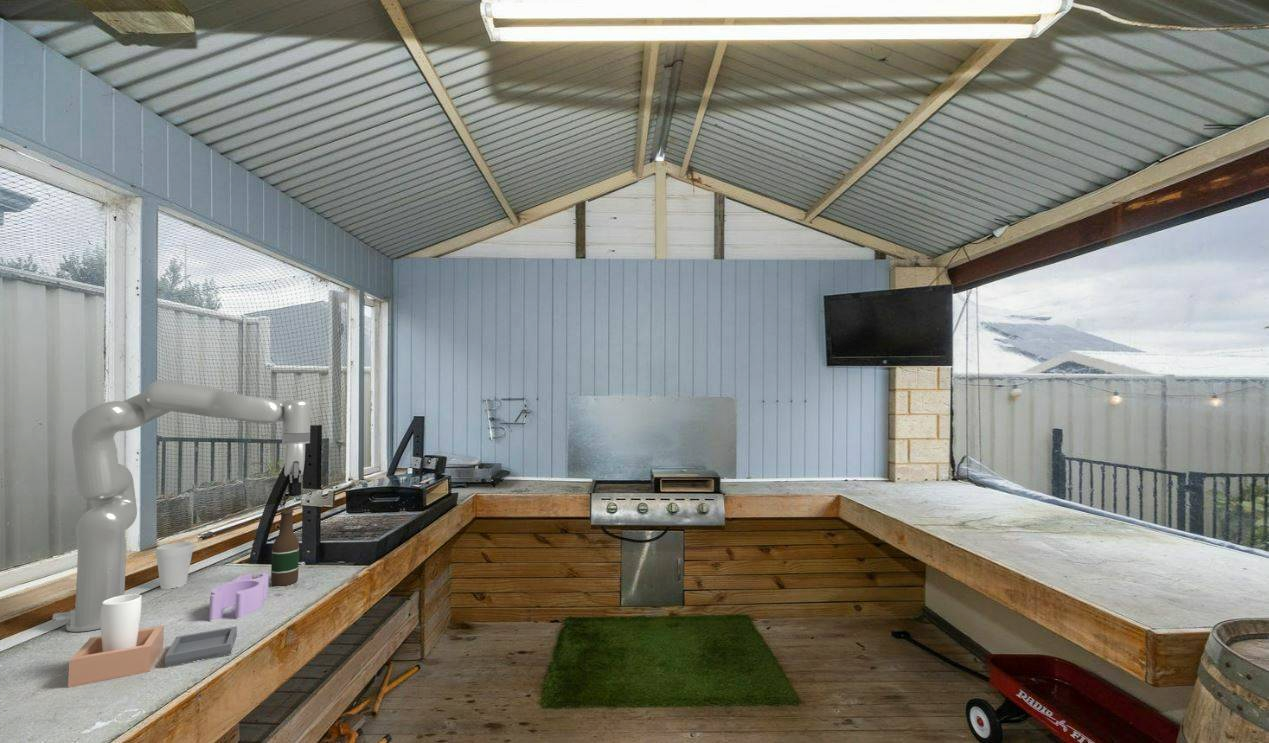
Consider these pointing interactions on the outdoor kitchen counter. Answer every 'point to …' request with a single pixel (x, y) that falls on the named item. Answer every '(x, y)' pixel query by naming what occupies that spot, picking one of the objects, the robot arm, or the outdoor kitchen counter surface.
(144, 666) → the terracotta holder
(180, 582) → the foam cup
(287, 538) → the beer bottle
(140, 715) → the outdoor kitchen counter surface
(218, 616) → the clip
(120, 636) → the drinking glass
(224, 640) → the charcoal tray
